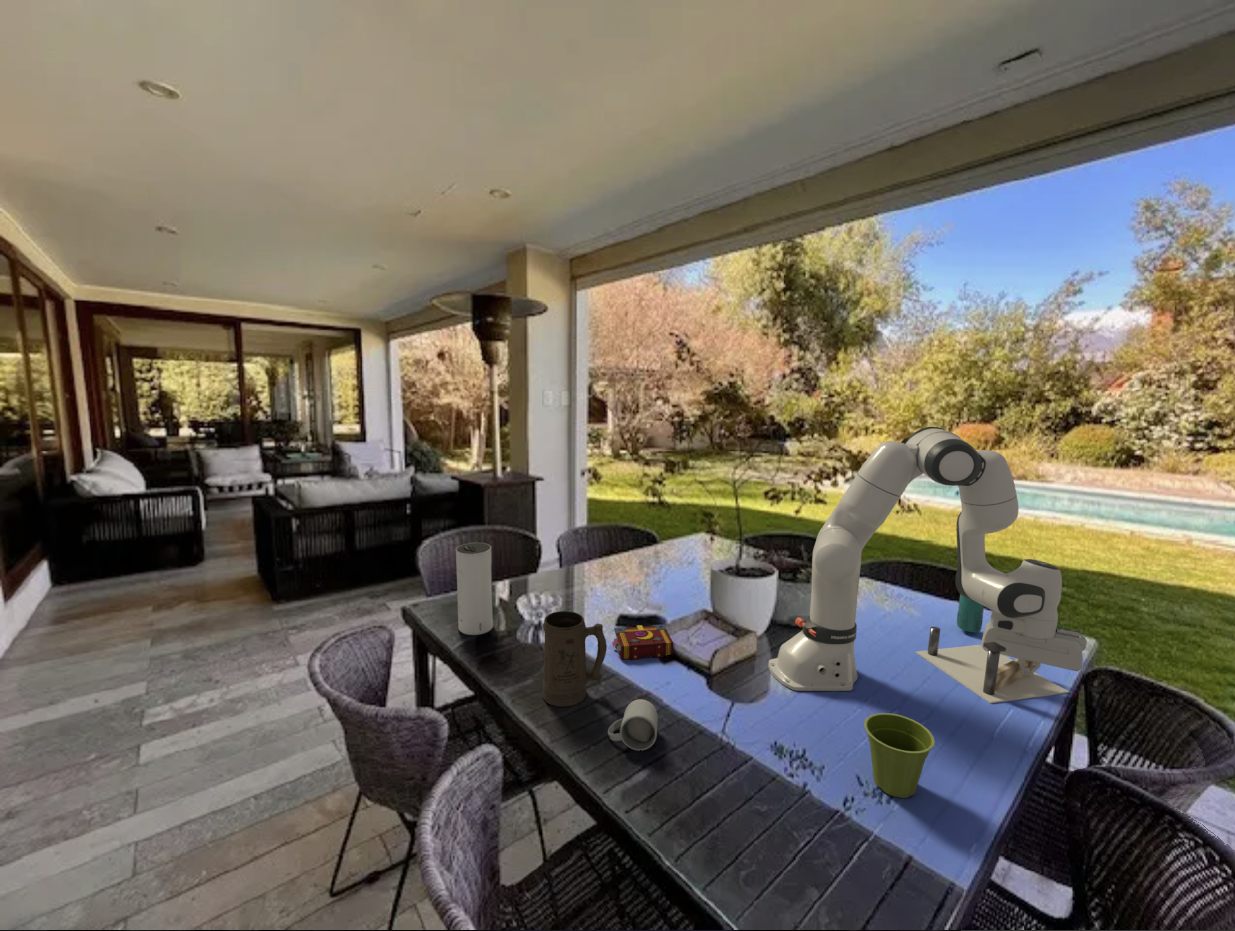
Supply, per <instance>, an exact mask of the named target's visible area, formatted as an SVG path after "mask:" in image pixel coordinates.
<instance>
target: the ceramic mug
mask: <svg viewBox="0 0 1235 931" xmlns="http://www.w3.org/2000/svg"><path fill="white" fill-rule="evenodd" d="M658 719H659V718H658V712H657V709H656V707H655V706H654V704H653V703H652V702H650V701H649V700H647V699H643V698H638V699H635V700H632V701H631V702H630V703H629V704H628V705H627V707H626V708H625V711H624V715H623V717H622V718H620V719H617V720H615V721H614V722H613V723H612V724H610V726H609V727H608V729H607V735H608V737H609V739H610V740H611V741H613V742H620V741H622V743H623V744H624V745H625V746H626V747H628V748H629V749H631V750H634V751H640V750H641V751H646V750H648V749H650V748H651V747H652V746H653V745H654V744H655V742H656V740H657V736H658ZM619 728H620V729H619ZM617 729H619V733H618V732H617V733H614V732H615V731H616V730H617ZM641 751H640V752H641Z"/></svg>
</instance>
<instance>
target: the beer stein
mask: <svg viewBox="0 0 1235 931" xmlns="http://www.w3.org/2000/svg"><path fill="white" fill-rule="evenodd" d="M542 628H543V631H544V644H543V645H544V648H543V649H544V651H543V652H544V653H543V655H544V656H543V679H542V686H543V688H542V698H543V700H544V701H545V702H546V703H547V704H549V705H552V706H554V707H560V708H561V707H562V708H563V707H572V706H575V705H578V704H579V703H582V702H583V700H585V699H586V696H587V686H586V685H587V684H588V682H590V681H595V682H598V683H599V682H601V680H602V678H603V677H602V676H603V675H602V673H601V667H602V664H604V661H605V659H606V655H607V645H608V644H607V639H606V636H605V633H604V632H603V630H604V629H603V628H604V624H601V623H595V624H593V625H592V626H586V623H585V618H584V616H583V615H581V614H580V613H578V612H575V611H568V610H561V611H559V610H558V611H554V612H551V613H549V614H548V615H546V616H545V617H544V620H543V625H542ZM589 636H594V637H595V638H596V640H597V641H596V642H597V651H596V658H595V660H594V663H593V667H592V669H591V670H590V671H589V672H588V670H587V661H586V656H587V655H586V652H587V651H586V650H587V649H586V639H587V638H588V637H589Z"/></svg>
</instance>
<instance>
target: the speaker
mask: <svg viewBox="0 0 1235 931" xmlns="http://www.w3.org/2000/svg"><path fill="white" fill-rule="evenodd" d="M455 557H456V558H455V560H456V561H455V562H456V565H455V566H456V588H457V591H456V592H457V618H458V619H457V620H458V622H457V624H458V626H457V627H458V630H459V632H460V633H461V634H463V635H467V636H481V635H483V634H486V633H488V632H490V631H491V630H492V629H493V628H494V600H493V599H494V598H493V574H492V573H493V569H492V566H493V565H492V546H491V545H490V544H488V543H485V542H468V543H463V544H461V545H458V546H457V547H456V548H455Z"/></svg>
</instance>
